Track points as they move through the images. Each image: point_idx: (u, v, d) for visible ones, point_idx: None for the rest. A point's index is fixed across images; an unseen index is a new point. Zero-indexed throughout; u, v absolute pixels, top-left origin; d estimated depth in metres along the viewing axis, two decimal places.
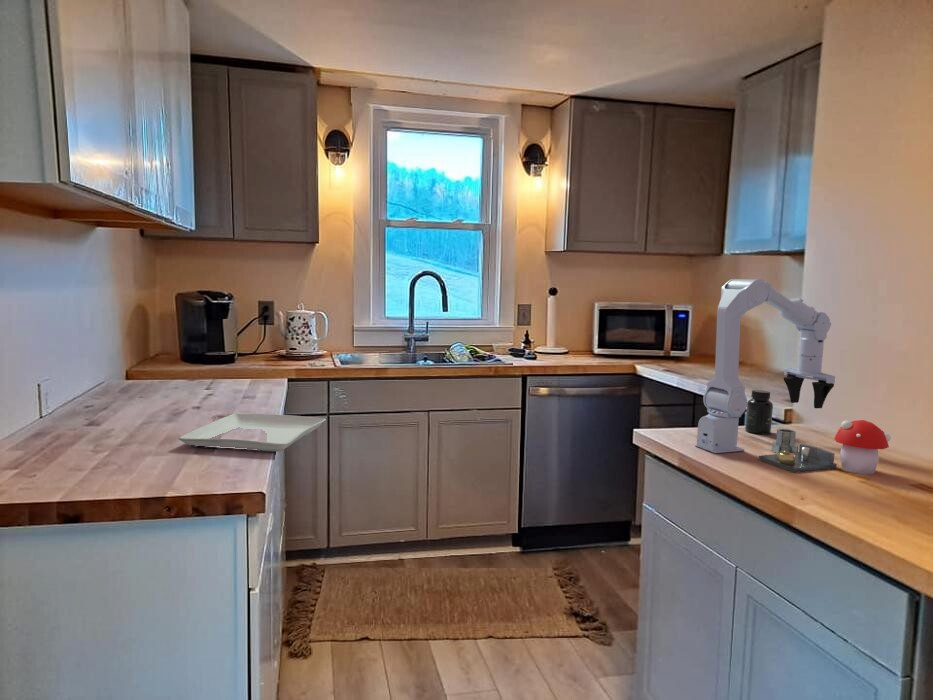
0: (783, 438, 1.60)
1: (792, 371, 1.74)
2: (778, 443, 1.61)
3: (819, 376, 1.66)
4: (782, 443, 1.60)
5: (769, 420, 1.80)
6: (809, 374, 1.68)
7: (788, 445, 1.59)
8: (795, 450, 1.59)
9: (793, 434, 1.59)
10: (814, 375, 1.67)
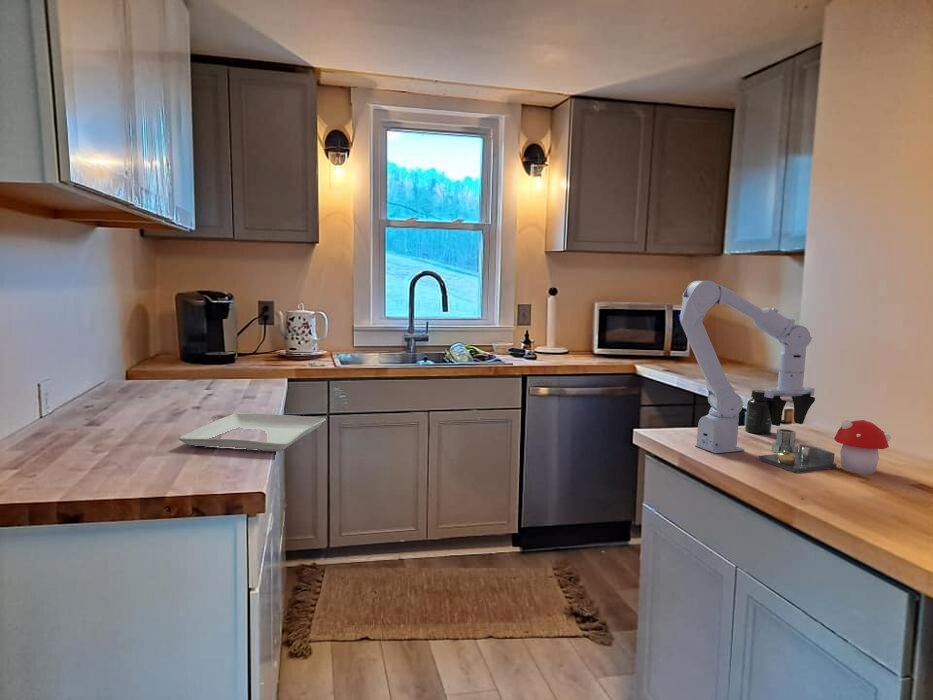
0: (783, 438, 1.60)
1: None
2: (778, 443, 1.61)
3: None
4: (782, 443, 1.60)
5: (769, 420, 1.80)
6: None
7: (788, 445, 1.59)
8: (795, 450, 1.59)
9: (793, 434, 1.59)
10: None
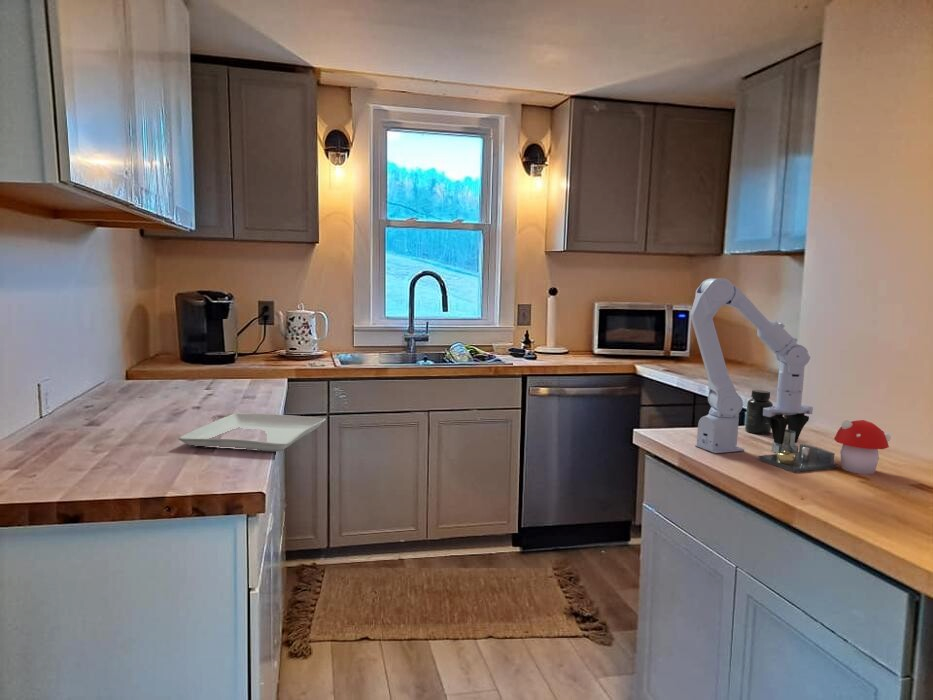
0: None
1: None
2: None
3: None
4: None
5: None
6: None
7: (788, 445, 1.59)
8: (795, 450, 1.59)
9: (793, 434, 1.59)
10: None
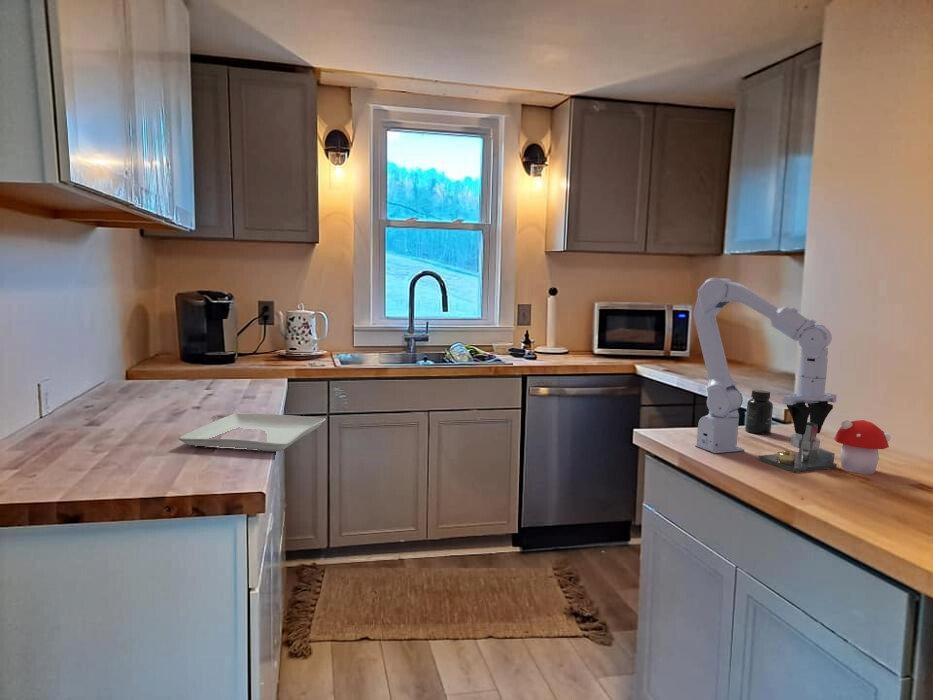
0: None
1: None
2: (798, 437, 1.50)
3: None
4: (803, 437, 1.49)
5: (769, 420, 1.80)
6: None
7: (809, 439, 1.48)
8: (816, 445, 1.48)
9: (815, 428, 1.48)
10: None
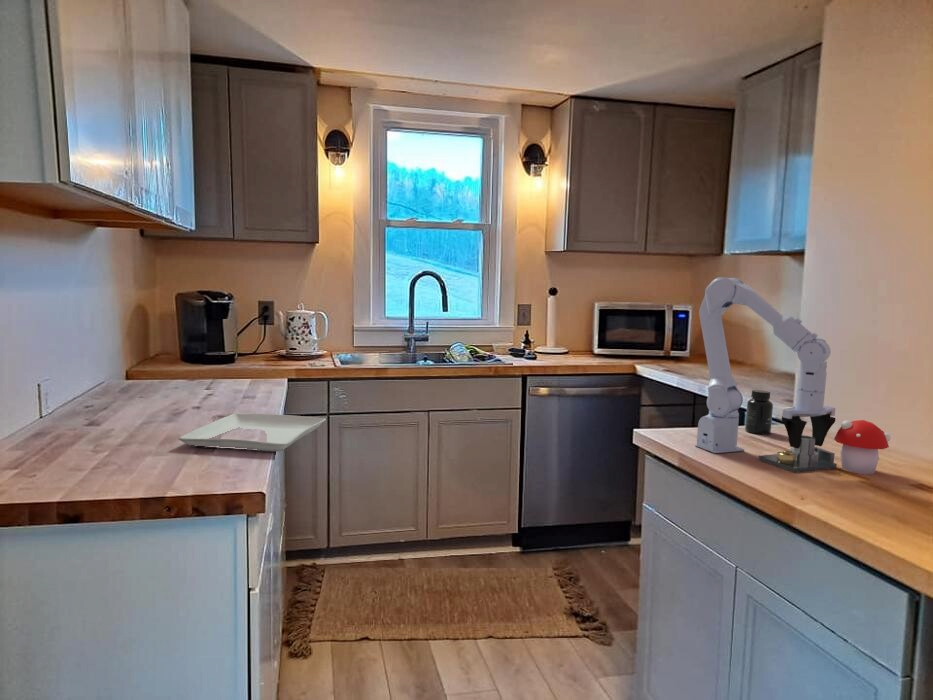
0: (802, 445, 1.49)
1: None
2: (796, 450, 1.50)
3: None
4: (801, 450, 1.49)
5: (769, 420, 1.80)
6: None
7: (807, 452, 1.49)
8: (815, 458, 1.48)
9: (813, 441, 1.49)
10: None
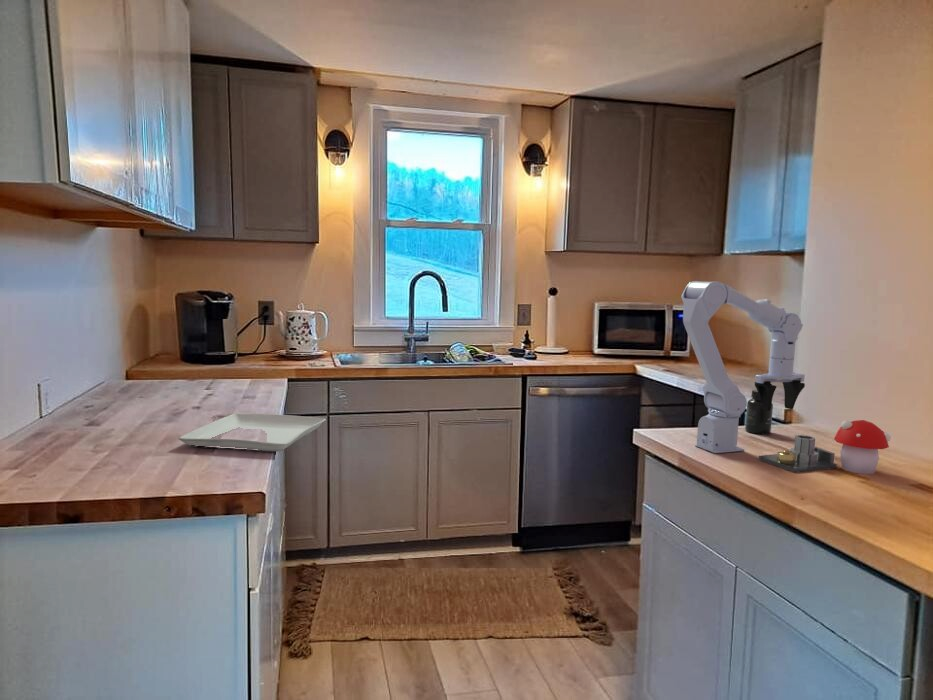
0: (802, 445, 1.49)
1: None
2: (796, 450, 1.50)
3: None
4: (801, 450, 1.49)
5: (769, 420, 1.80)
6: None
7: (807, 452, 1.49)
8: (815, 458, 1.48)
9: (813, 441, 1.49)
10: None
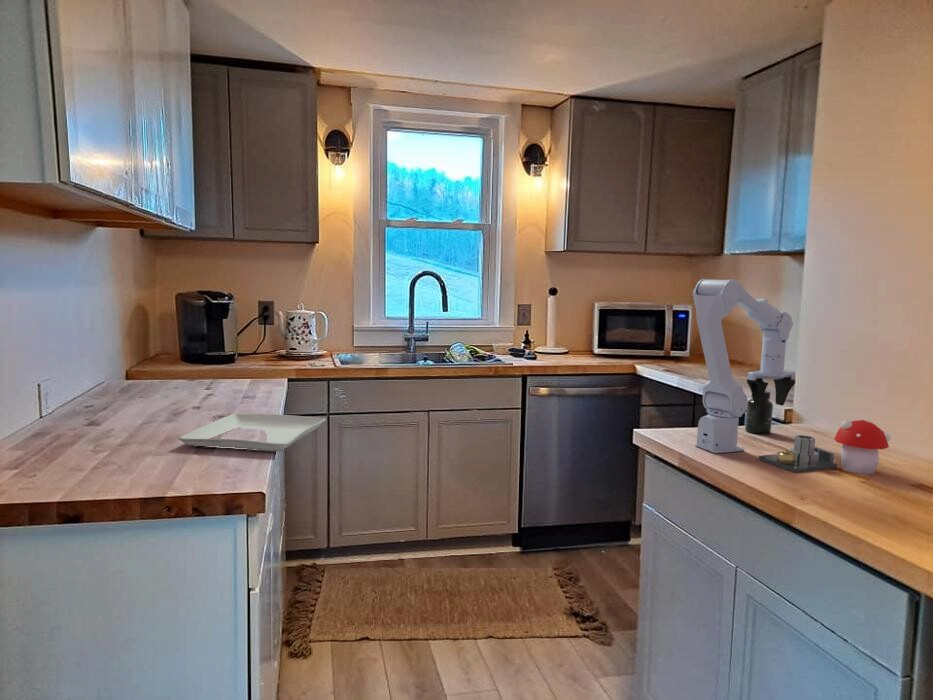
0: (802, 445, 1.49)
1: None
2: (796, 450, 1.50)
3: None
4: (801, 450, 1.49)
5: (769, 420, 1.80)
6: None
7: (807, 452, 1.49)
8: (815, 458, 1.48)
9: (813, 441, 1.49)
10: None
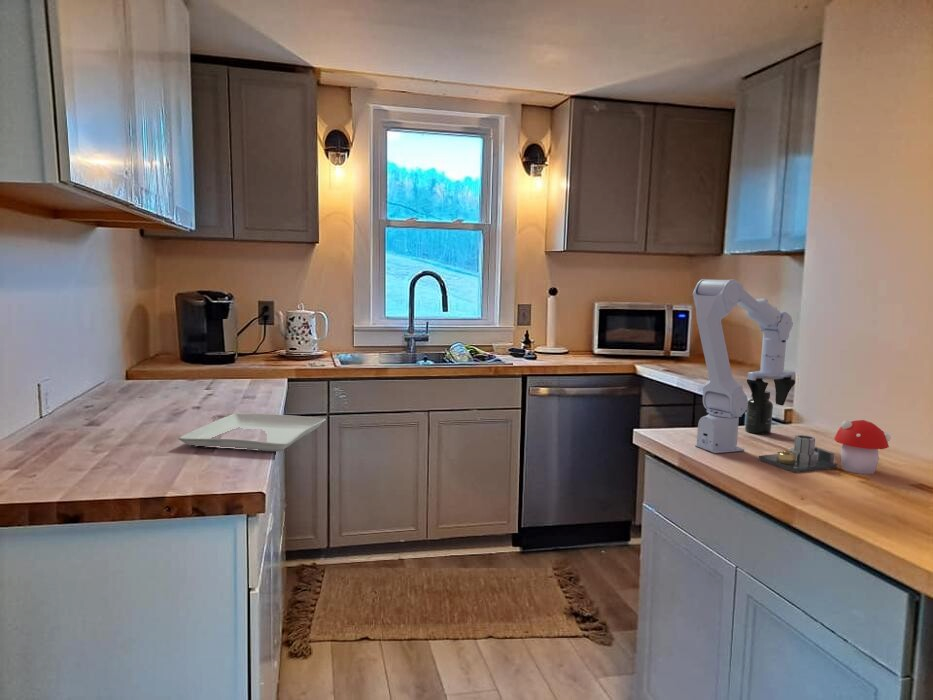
0: (802, 445, 1.49)
1: None
2: (796, 450, 1.50)
3: None
4: (801, 450, 1.49)
5: (769, 420, 1.80)
6: None
7: (807, 452, 1.49)
8: (815, 458, 1.48)
9: (813, 441, 1.49)
10: None
